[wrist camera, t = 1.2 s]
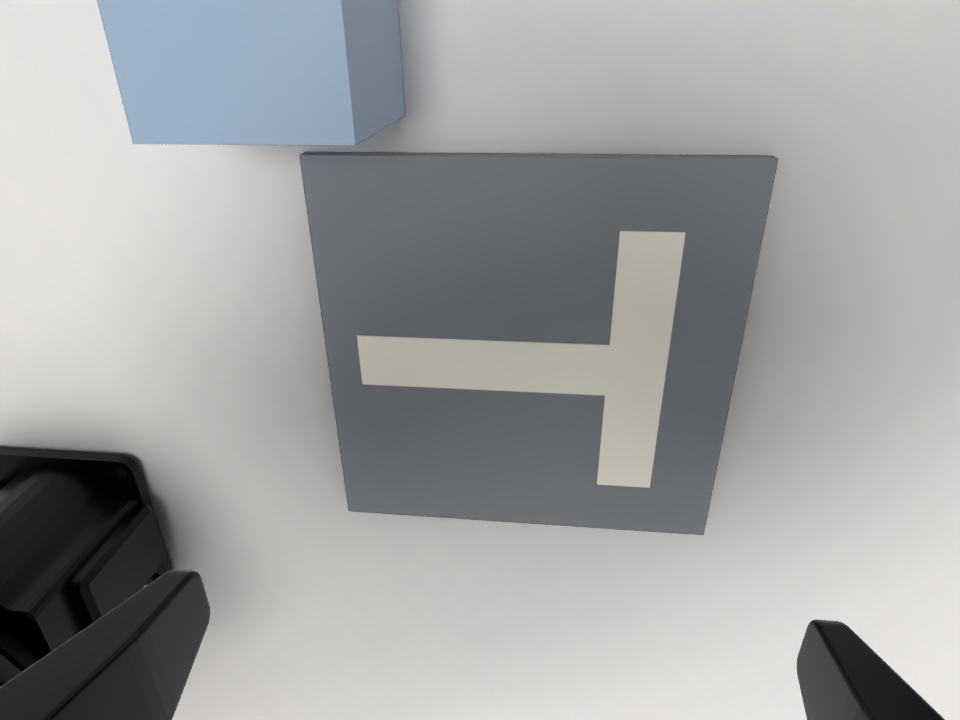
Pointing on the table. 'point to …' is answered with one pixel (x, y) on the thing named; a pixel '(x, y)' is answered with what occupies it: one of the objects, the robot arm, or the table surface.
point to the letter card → (535, 329)
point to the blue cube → (256, 70)
